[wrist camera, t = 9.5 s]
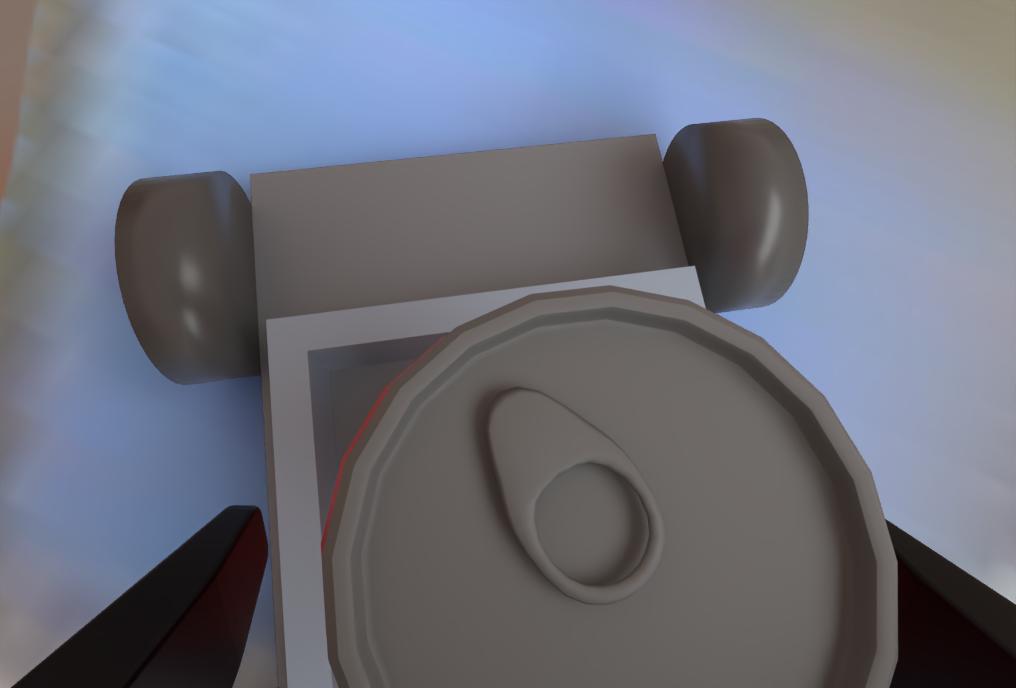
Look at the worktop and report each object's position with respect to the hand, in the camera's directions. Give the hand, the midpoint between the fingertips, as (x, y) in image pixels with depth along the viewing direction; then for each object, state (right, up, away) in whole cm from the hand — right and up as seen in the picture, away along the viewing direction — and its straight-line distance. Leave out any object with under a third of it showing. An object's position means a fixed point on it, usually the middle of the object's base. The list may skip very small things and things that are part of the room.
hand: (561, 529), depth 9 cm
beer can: (-1, -2, +8) cm, 9 cm away
